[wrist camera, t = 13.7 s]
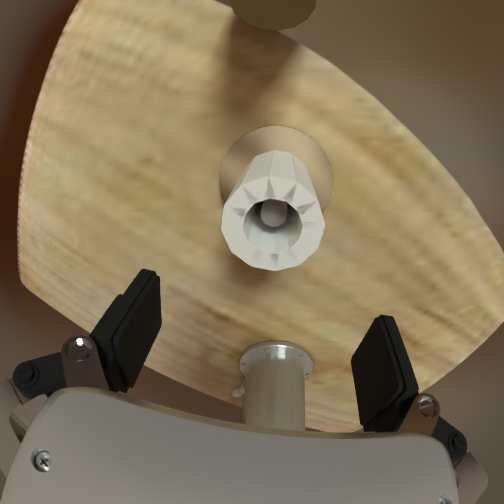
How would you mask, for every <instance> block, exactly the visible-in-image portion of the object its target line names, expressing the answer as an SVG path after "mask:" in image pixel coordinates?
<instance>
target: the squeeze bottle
mask: <svg viewBox="0 0 504 504" xmlns="http://www.w3.org/2000/svg"><path fill="white" fill-rule="evenodd" d="M229 1H230V4H231V6H232V9H233V11H234V13H235V14H236V15H237V16H238V17H239V18H240V19H241V20H242V21H243V22H245V23H247V24H249V25H252V26H254V27H257V28H259V29H266V30H277V31H278V30H282V29H287V28H292V27H295V26H297V25H298V24H300V23H302V22H304V21H305V20H307V19H308V18H309V16H310V15H311V13H312V12H313V10H314V9H315V4H316V0H229Z"/></svg>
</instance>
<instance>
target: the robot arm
mask: <svg viewBox="0 0 504 504" xmlns="http://www.w3.org/2000/svg"><path fill="white" fill-rule="evenodd" d="M161 323H162V319H161V299H160V277H159V276H157V275H156V272H155V271H151V270H147V269H142V270H141V271H140V272H139V273H138V275H137V276H136V277H135V279H134V280H133V281H132V283H131V284H130V286H129V287H128V288H127V290H126V291H125V292H124V294H123V295H122V294H119V295H118V296H117V297H116V298H115V300H114V301H113V302H112V304H111V305H110V307H109V308H108V309H107V311H106V312H105V314H104V315H103V316H102V318H101V319H100V321H99V322H98V324H97V325H96V326H95V328H94V329H93V331H92V332H91V334H90V335H89V337H88V336H85V335H74V336H72V337H69V338H68V339H67V340H66V341H65V342H64V343H63V344H62V347H61V352H58V353H55V354H51V355H47V356H44V357H40V358H36V359H33V360H29V361H25V362H23V363H21V364H19V365H18V366H17V367H16V369H15V370H14V373H13V377H12V378H10V379H9V378H8V377H6V378H5V379H3V380H1V381H0V468H1V470H2V472H3V473H4V475H5V477H6V479H7V481H6V484H5V488H4V491H3V495H2V499H1V502H0V504H475V502H476V501H477V500H478V499H479V497H480V496H481V494H482V493H483V491H484V490H485V489H486V487H487V484H488V477H487V475H486V473H485V472H484V470H483V469H482V467H481V466H480V465H479V463H478V462H477V460H476V459H475V458H474V456H473V455H472V453H471V452H470V451H468V452H466V450H467V441H466V439H465V437H464V435H463V434H462V433H461V432H459V431H458V430H457V429H455V428H454V427H453V426H451V425H450V424H449V423H448V422H446V421H445V420H443V419H442V418H441V417H440V416H439V415H440V405H439V402H438V401H437V400H436V398H435V397H434V396H432V395H430V394H428V393H420V394H419V392H418V390H419V387H418V384H417V381H416V378H415V375H414V372H413V369H412V366H411V363H410V360H409V357H408V354H407V351H406V349H405V346H404V343H403V340H402V338H401V335H400V333H399V330H398V327H397V325H396V322H395V320H394V318H393V317H392V316H387V315H380V316H379V317H376V318H375V319H374V321H373V323H372V325H371V326H370V328H369V330H368V331H367V333H366V335H365V337H364V338H363V340H362V342H361V343H360V345H359V347H358V348H357V350H356V351H355V353H354V355H353V356H352V359H351V366H352V372H353V378H354V384H355V390H356V397H357V404H358V411H359V418H360V424H361V425H362V426H363V428H364V432H370V431H371V432H372V433H332V432H310V431H305V380H306V379H307V378H308V377H309V376H310V375H311V373H312V371H313V359H312V357H311V355H310V354H309V353H308V352H307V351H306V350H305V349H303V348H302V347H300V346H298V345H295V344H292V343H288V342H282V341H271V342H264V343H259V344H256V345H254V346H252V347H250V348H248V349H247V350H246V351H244V352H243V354H242V355H241V358H240V362H239V369H240V371H241V373H242V375H243V376H244V377H245V378H244V381H243V382H242V384H241V385H240V386H237V387H236V388H234V389H233V390H232V395H233V396H234V397H236V398H238V397H240V396H242V395H244V398H243V405H242V411H241V418H240V423H234V422H228V421H222V420H217V419H213V418H208V417H204V416H199V415H195V414H191V413H187V412H183V411H179V410H175V409H171V408H168V407H164V406H160V405H157V404H153V403H149V402H147V401H143V400H140V399H137V398H134V397H130V396H127V395H123V394H120V393H118V391H121V392H124V393H127V390H128V388H129V387H130V388H132V387H133V386H134V384H135V382H136V380H137V378H138V375H139V373H140V371H141V369H142V367H143V364H144V362H145V360H146V358H147V356H148V354H149V351H150V349H151V347H152V345H153V343H154V341H155V339H156V337H157V335H158V332H159V330H160V328H161ZM30 424H31V425H30ZM29 425H30V426H29ZM28 426H29V429H28V430H27V428H28ZM26 430H27V432H26ZM374 431H375V432H374Z"/></svg>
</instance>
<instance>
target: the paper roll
mask: <svg viewBox="0 0 504 504" xmlns="http://www.w3.org/2000/svg"><path fill="white" fill-rule="evenodd" d="M270 198H271V199H276V200H281V201H286V202H287V219H286V221H285V222H284V223H283V224H282V225H280V226H278V227H271V226H268V225H266V224H265V223H264V222H263V220H262V219H261V209H262V204H263V201H264V200H267V199H270ZM324 227H325V223H324V219H323V216H322V212H321V209H320V205H319V202H318V199H317V196H316V193H315V190H314V188H313V185H312V182H311V179H310V177H309V174H308V172H307V169H306V166H305V165H304V164H303V163H302V162H301V161H299V160H298V159H297V158H296V157H295V156H294V155H293V154H291V153H286V152H281V151H276V150H274V151H273V150H272V151H269V152H266V153H263V154H260V155H257V156H255V158H254V159H253V160H252V161H251V162H250V163H249V164H248V166H247V167H246V168H245V169H244V171H243V173H242V174H241V176H240V178H239V180H238V181H237V183H236V185H235V187H234V188H233V190H232V192H231V194H230V196H229V197H228V199H227V201H226V203H225V205H224V210H223V218H222V225H221V230H222V233H223V235H224V237H225V239H226V242H227V244H228V246H229V248H230V250H231V251H232V253H234V254H235V255H236V256H238V257H239V258H240V259H242V260H243V261H244V262H246V263H247V264H248V265H250V266H251V267H256V268H261V269H266V270H271V271H275V270H276V271H278V270H282V269H286V268H290V267H294V266H298V265H299V264H301V263H302V262H304V261H305V260H306V259H307V258H308V257H309V256H310V255H311V254H312V253H314V252H315V251H316V250H317V248H318V247H319V243H320V240H321V237H322V234H323V230H324Z"/></svg>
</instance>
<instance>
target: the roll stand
mask: <svg viewBox="0 0 504 504" xmlns="http://www.w3.org/2000/svg"><path fill="white" fill-rule="evenodd" d="M272 150H273V151H274V150H276V151H281V152H286V153H291V154H293V155H294V156H295V157H296V158H297V159H298V160H299V161H301V162H302V163H303V164H304V165H305V166H306V169H307V172H308V174H309V177H310V179H311V182H312V185H313V188H314V190H315V193H316V196H317V199H318V202H319V205H320V209H321V212H322V213H323V211H324V210H325V208H326V206H327V205H328V203H329V200H330V197H331V194H332V189H333V173H332V168H331V165H330V162H329V160H328V158H327V156H326V154H325V152H324V151H323V150H322V148H321V147H320V146H319V145H318V144H317V143H316V142H315V141H314V140H313V139H312V138H311V137H309V136H308V135H307V134H305V133H303V132H302V131H299V130H297V129H294V128H291V127H287V126H276V125H272V126H265V127H261V128H258V129H255V130H253V131H251V132H249V133H247V134H245V135H244V136H243V137H241V138H240V139H239V140H238V141H237V142H236V143H235V144H234V145H233V146H232V147H231V148H230V150H229V151H228V153H227V154H226V156H225V158H224V161H223V164H222V167H221V172H220V187H221V192H222V195H223V198H224V201H225V203H226V201H227V199H228V197H229V196H230V194H231V192H232V190H233V188H234V187H235V185H236V183H237V181H238V180H239V178H240V176H241V174H242V173H243V171H244V169H245V168H246V167H247V166H248V164H249V163H250V162H251V161H252V160H253V159H254V158H255V156H257V155H260V154H263V153H266V152H269V151H272ZM261 219H262V220H263V222H264V223H265V224H266V225H268V226H271V227H278V226H280V225H282V224H283V223H284V222H285V221H286V219H287V202H286V201H281V200H276V199H271V198H270V199H267V200H264V201H263V204H262V209H261Z"/></svg>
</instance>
